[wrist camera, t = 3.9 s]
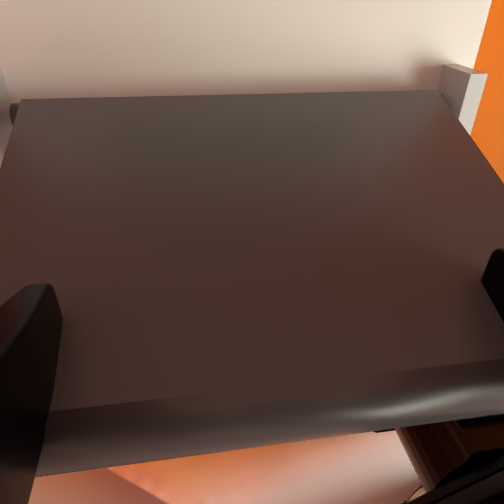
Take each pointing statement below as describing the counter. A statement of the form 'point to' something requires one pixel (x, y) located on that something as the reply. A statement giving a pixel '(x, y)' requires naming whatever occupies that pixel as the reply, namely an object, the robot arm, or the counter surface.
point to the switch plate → (239, 49)
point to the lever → (252, 268)
